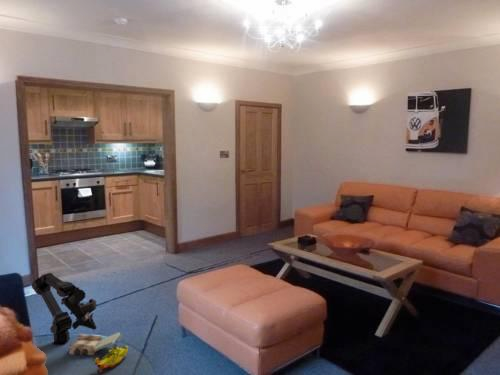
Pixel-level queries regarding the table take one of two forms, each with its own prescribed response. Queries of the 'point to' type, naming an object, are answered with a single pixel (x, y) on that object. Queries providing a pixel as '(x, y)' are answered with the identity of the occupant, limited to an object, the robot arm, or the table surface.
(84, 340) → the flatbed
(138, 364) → the table surface
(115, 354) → the toy boat
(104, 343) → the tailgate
